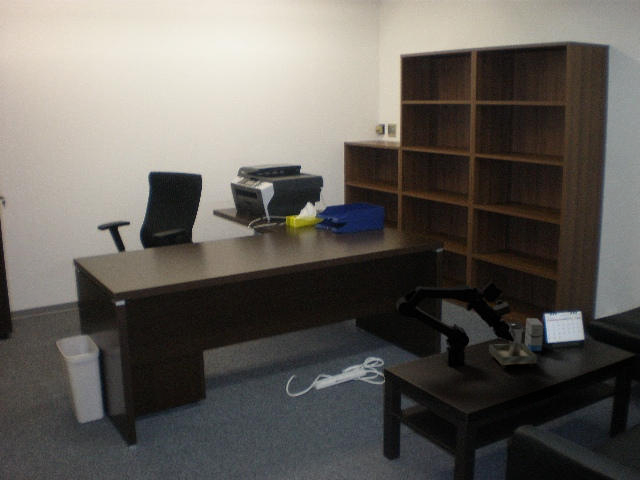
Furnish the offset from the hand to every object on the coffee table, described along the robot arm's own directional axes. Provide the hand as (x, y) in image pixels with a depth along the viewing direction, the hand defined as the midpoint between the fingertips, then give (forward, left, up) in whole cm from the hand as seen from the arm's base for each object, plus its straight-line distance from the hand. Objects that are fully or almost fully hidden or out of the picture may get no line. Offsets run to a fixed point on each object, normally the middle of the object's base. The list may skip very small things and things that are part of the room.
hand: (509, 336), depth 261 cm
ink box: (+16, +14, -11) cm, 24 cm away
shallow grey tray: (+1, 0, -11) cm, 11 cm away
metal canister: (+2, 0, -8) cm, 8 cm away
